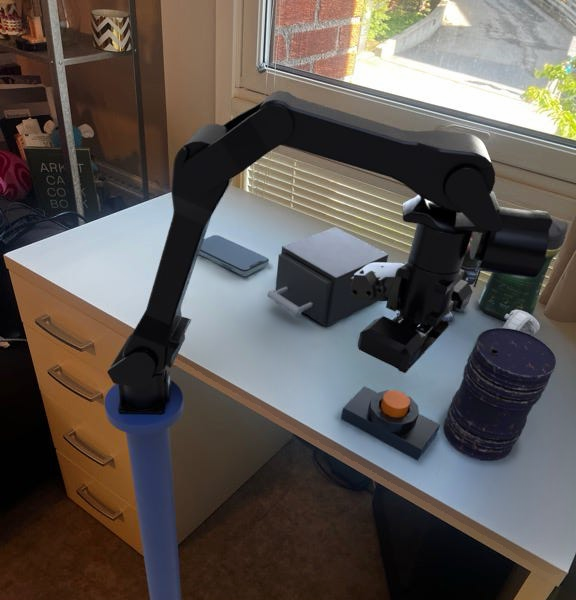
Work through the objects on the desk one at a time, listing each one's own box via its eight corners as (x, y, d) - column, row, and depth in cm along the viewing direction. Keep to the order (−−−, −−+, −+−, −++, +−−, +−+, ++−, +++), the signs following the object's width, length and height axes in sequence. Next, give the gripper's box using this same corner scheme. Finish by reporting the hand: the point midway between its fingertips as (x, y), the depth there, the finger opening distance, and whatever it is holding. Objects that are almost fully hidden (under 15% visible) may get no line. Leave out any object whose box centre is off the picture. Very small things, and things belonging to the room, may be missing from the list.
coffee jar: (535, 312, 104) (578, 218, 92) (522, 330, 99) (566, 233, 87) (486, 292, 108) (521, 200, 96) (471, 309, 103) (506, 214, 91)
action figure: (437, 341, 94) (470, 243, 82) (404, 324, 97) (431, 227, 85) (488, 299, 106) (523, 209, 94) (457, 285, 109) (488, 196, 97)
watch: (523, 370, 90) (550, 313, 83) (501, 391, 85) (527, 334, 78) (492, 353, 93) (516, 297, 86) (469, 373, 88) (492, 316, 81)
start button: (375, 409, 74) (378, 400, 73) (388, 395, 77) (390, 386, 76) (399, 422, 73) (402, 412, 72) (411, 407, 75) (414, 398, 74)
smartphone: (216, 233, 114) (271, 258, 107) (216, 240, 115) (270, 266, 108) (188, 244, 109) (244, 271, 102) (188, 252, 110) (244, 279, 103)
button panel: (339, 419, 78) (344, 398, 75) (362, 396, 82) (367, 375, 79) (417, 462, 73) (424, 441, 70) (437, 434, 77) (444, 414, 74)
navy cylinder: (494, 409, 82) (533, 326, 72) (526, 459, 75) (573, 375, 65) (432, 412, 80) (462, 328, 71) (458, 464, 73) (496, 378, 63)
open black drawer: (304, 332, 91) (309, 291, 86) (257, 301, 97) (260, 261, 92) (368, 299, 100) (376, 261, 95) (322, 273, 106) (328, 235, 101)
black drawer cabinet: (327, 327, 94) (336, 277, 88) (277, 294, 101) (281, 246, 94) (377, 301, 102) (388, 254, 96) (328, 272, 108) (335, 226, 102)
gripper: (407, 212, 70) (382, 315, 80) (327, 265, 58) (309, 378, 68) (491, 242, 65) (453, 347, 76) (423, 306, 53) (389, 421, 64)
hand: (402, 370), depth 71 cm, fingers closed
